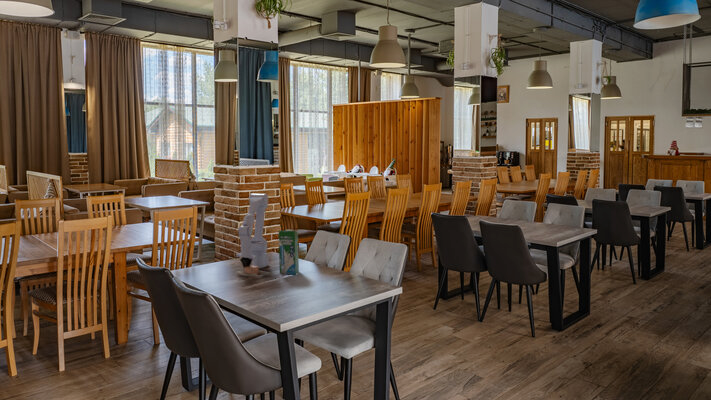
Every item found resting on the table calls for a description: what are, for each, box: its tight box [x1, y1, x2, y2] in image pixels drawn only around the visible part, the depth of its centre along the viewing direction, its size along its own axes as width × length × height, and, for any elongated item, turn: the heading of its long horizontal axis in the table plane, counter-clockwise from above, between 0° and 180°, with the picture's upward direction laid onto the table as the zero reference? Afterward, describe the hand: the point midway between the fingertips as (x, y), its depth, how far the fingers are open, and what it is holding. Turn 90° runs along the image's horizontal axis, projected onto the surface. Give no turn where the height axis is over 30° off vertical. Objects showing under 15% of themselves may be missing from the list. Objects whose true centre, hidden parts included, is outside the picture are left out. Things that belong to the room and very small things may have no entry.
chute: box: [236, 270, 272, 279], centre depth 296 cm, size 11×18×2 cm, turn 53°
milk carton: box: [278, 228, 300, 276], centre depth 302 cm, size 9×9×25 cm
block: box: [243, 264, 260, 275], centre depth 297 cm, size 6×5×4 cm
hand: (246, 271), depth 299 cm, fingers closed
